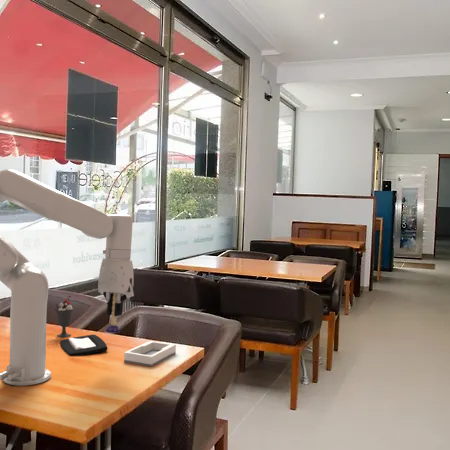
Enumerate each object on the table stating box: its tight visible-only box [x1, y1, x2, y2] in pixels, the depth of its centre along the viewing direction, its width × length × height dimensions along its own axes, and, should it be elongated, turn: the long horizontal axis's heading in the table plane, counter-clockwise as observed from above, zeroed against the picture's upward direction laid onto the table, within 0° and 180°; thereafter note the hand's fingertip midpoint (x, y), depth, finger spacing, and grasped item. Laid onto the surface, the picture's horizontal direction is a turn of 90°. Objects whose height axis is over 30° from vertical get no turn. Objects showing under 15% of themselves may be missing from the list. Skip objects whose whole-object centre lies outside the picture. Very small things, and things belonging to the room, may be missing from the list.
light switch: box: [59, 334, 109, 357], centre depth 180 cm, size 20×3×14 cm
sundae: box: [54, 295, 75, 339], centre depth 194 cm, size 7×7×15 cm
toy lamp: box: [105, 293, 121, 334], centre depth 158 cm, size 5×5×17 cm
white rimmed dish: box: [123, 340, 177, 367], centre depth 171 cm, size 16×10×3 cm, turn 158°
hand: (114, 314), depth 158 cm, fingers closed on toy lamp
